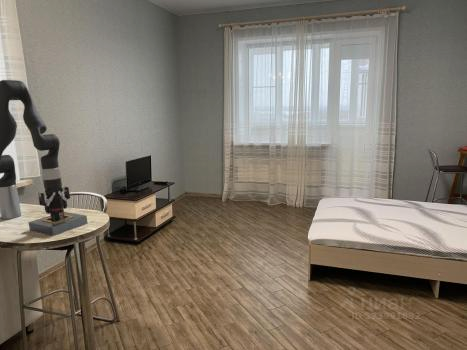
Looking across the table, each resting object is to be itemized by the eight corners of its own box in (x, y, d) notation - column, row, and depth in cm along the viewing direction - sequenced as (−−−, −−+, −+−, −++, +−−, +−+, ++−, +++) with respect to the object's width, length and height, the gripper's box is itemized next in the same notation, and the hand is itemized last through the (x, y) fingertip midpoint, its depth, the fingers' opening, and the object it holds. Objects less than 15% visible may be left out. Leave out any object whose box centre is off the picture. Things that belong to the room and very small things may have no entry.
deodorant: (60, 229, 162) (55, 198, 159) (49, 228, 163) (44, 198, 161) (68, 224, 168) (64, 195, 165) (58, 224, 169) (53, 194, 166)
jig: (29, 230, 162) (28, 221, 161) (64, 218, 178) (63, 210, 177) (53, 235, 154) (51, 226, 153) (87, 223, 169) (86, 214, 168)
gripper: (60, 174, 169) (65, 206, 172) (32, 180, 157) (37, 214, 160) (70, 175, 165) (75, 207, 168) (42, 181, 153) (47, 216, 156)
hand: (56, 210), depth 164 cm, fingers open, 8 cm apart
